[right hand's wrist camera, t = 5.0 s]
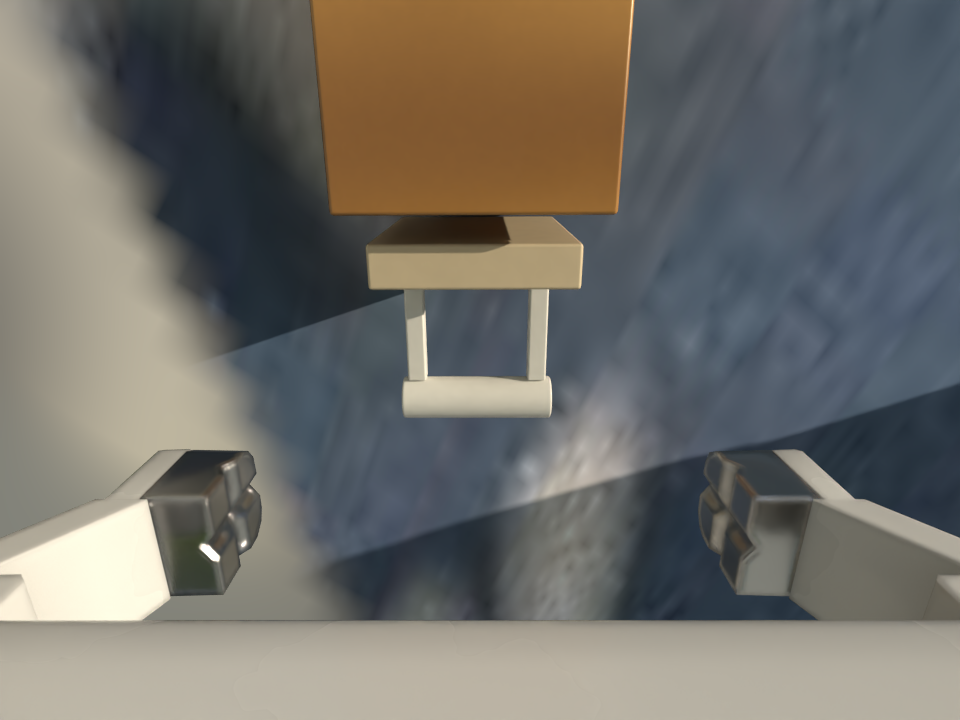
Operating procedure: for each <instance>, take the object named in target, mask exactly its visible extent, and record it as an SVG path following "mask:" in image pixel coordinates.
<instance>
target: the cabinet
mask: <svg viewBox="0 0 960 720" xmlns="http://www.w3.org/2000/svg"><path fill="white" fill-rule="evenodd" d="M310 10H311V20H312V31H313V42H314V52H315V63H316V74H317V84H318V95H319V105H320V116H321V127H322V137H323V148H324V158H325V169H326V180H327V190H328V201H329V211H330V213H331V215H334V216H366V215H614V214H616V213H617V211H618V202H619V190H620V177H621V164H622V151H623V139H624V126H625V113H626V100H627V88H628V75H629V62H630V49H631V37H632V24H633V11H634V0H310Z"/></svg>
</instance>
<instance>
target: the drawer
mask: <svg viewBox="0 0 960 720" xmlns="http://www.w3.org/2000/svg"><path fill="white" fill-rule="evenodd" d="M366 259H367V272H368V286H369V288H370V289H371V290H404V301H405V321H406V340H407V359H408V376H406V377H405V378H404V380H403V386H402V409H403V415H404V417H406V418H548V417H550V415H551V408H552V388H551V380H550V377H548V376H545V373H546V348H547V322H548V296H549V289H579V288H580V287H581V278H582V261H583V244H582V243H581V242H579V241H578V240H577V239H576V238H575V237H574V236H573V235H572V234H571V233H569V232H568V231H567V230H566V229H565V228H564V227H563V226H562V225H561V224H559V223H558V222H557V221H556V220H555V219H554V218H553V217H551V216H549V217H403V218H401V219H400V220H399V221H397V222H396V223H395V224H393V225H392V226H391V227H389V228H388V229H387V230H385V231H384V232H383V233H382V234H380V235H379V236H378V237H376V238H375V239H374V240H372V241H371V242H370V243H368V244H367V245H366ZM487 289H529V294H528V332H527V370H526V374H527V376H427V374H428V370H427V344H426V319H425V293H424V290H487Z"/></svg>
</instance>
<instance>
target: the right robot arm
mask: <svg viewBox="0 0 960 720" xmlns="http://www.w3.org/2000/svg"><path fill="white" fill-rule="evenodd" d="M255 475H256V469H255V463H254V458H253V456H252V455H251V454H250V453H249V452H248V451H220V450H190V449H185V450H162V451H158V452H157V453H156V454H154V455H153V456H152V457H151V458H150V459H149V460H148V461H147V462H146V463H144V464H143V465H142V466H141V467H140V468H139V469H138V470H137V471H136V472H135V473H133V474H132V475H131V476H130V477H129V478H128V479H127V480H126V481H125V482H124V483H122V484H121V485H120V486H119V487H118V488H117V489H116V490H115V491H114V492H112V493H111V494H110V495H109V496H108V497H107V498H106V499H95V500H92V501H90V502H88V503H85V504H83V505H80V506H78V507H75V508H73V509H70V510H68V511H65V512H63V513H60V514H58V515H56V516H53V517H51V518H48V519H46V520H43V521H41V522H38V523H36V524H33V525H31V526H28V527H26V528H23V529H21V530H19V531H16V532H14V533H11V534H9V535H6V536H4V537H1V538H0V720H960V538H959V537H956V536H954V535H951V534H949V533H946V532H944V531H941V530H939V529H936V528H934V527H931V526H929V525H927V524H924V523H922V522H919V521H917V520H914V519H912V518H909V517H907V516H904V515H902V514H899V513H897V512H895V511H892V510H890V509H887V508H885V507H882V506H880V505H877V504H875V503H872V502H870V501H868V500H865V499H854V498H853V497H852V496H851V495H850V494H849V493H848V492H847V491H845V490H844V489H843V488H842V487H841V486H840V485H839V484H838V483H837V482H836V481H834V480H833V479H832V478H831V477H830V476H829V475H828V474H827V473H826V472H825V471H823V470H822V469H821V468H820V467H819V466H818V465H817V464H816V463H815V462H813V461H812V460H811V459H810V458H809V457H808V456H807V455H806V454H805V453H804V452H802V451H799V450H796V449H789V450H747V451H715V452H709V455H708V457H707V459H706V462H705V468H704V475H705V476H706V478H707V479H708V481H709V482H710V485H709V486H708V487H707V488H706V489H705V490H704V491H703V493H702V494H701V495H700V500H699V508H698V515H699V525H700V529H701V533H702V536H703V538H704V540H705V542H706V544H707V546H708V547H709V548H710V549H711V550H713V551H714V552H716V553H718V554H719V555H721V559H720V565H719V566H720V568H721V570H722V571H723V573H724V575H725V576H726V578H727V580H728V581H729V583H730V585H731V586H732V588H733V590H734V592H735V593H736V595H768V596H790V597H789V599H791V600H792V601H793V602H795V603H796V604H797V605H799V606H800V607H801V608H803V609H804V610H805V611H807V612H808V613H809V614H811V615H812V616H813V617H815V618H816V619H817V620H143V619H144V618H145V617H147V616H148V615H149V614H151V613H152V612H154V611H155V610H156V609H158V608H159V607H160V606H162V605H163V604H164V603H165V602H167V601H168V600H169V599H171V597H170V596H191V595H223V594H224V593H225V592H226V590H227V588H228V587H229V585H230V583H231V581H232V580H233V578H234V576H235V575H236V573H237V571H238V570H239V568H240V566H241V565H240V559H239V555H241V554H242V553H244V552H246V551H247V550H249V549H250V548H251V547H252V546H253V544H254V542H255V540H256V538H257V536H258V532H259V528H260V524H261V514H262V506H261V499H260V495H259V494H258V493H257V491H256V490H255V489H254V488H253V487H252V486H251V485H250V482H251V481H252V479H253V478H254V476H255Z"/></svg>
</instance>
